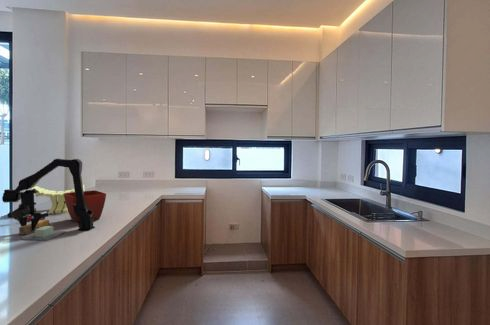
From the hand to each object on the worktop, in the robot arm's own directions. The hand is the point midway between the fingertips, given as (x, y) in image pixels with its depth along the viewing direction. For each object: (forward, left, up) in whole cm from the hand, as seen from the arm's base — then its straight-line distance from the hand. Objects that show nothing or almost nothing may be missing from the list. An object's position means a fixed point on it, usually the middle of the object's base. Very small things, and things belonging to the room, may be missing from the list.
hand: (28, 230), depth 159 cm
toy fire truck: (+18, -24, -2) cm, 30 cm away
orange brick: (+2, -11, -2) cm, 11 cm away
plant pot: (-13, -30, -2) cm, 33 cm away
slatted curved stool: (+20, -52, -2) cm, 56 cm away
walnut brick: (0, 0, -1) cm, 1 cm away
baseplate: (-12, +4, -1) cm, 13 cm away
